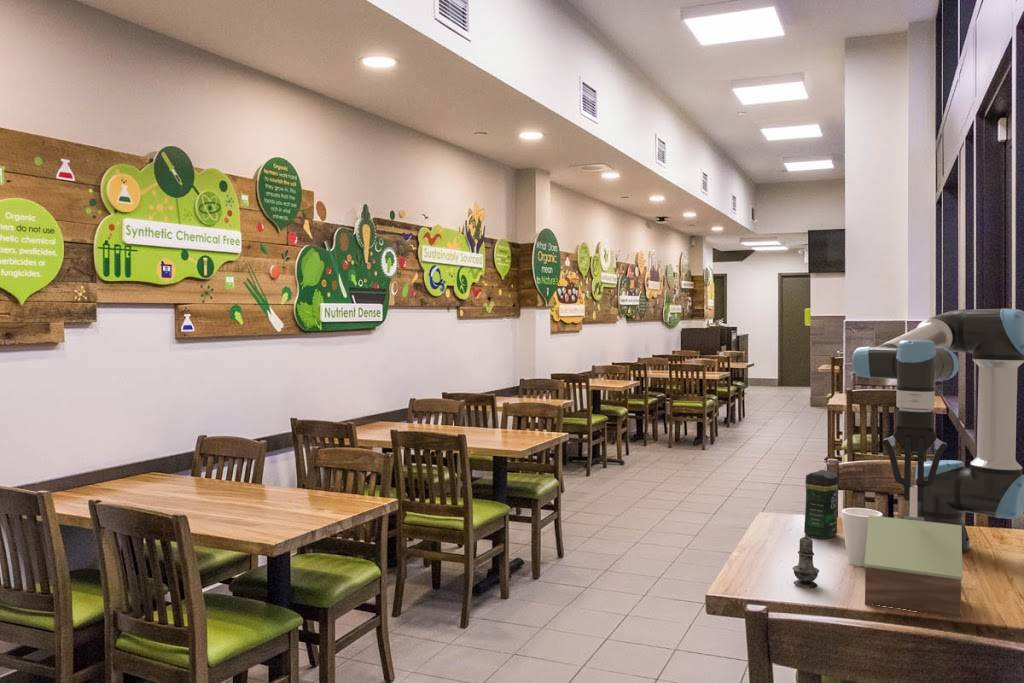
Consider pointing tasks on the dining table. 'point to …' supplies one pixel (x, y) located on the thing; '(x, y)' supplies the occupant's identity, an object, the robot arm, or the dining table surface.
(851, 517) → the foam cup
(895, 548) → the lid
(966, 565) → the dining table surface
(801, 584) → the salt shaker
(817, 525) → the coffee jar
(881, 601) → the box
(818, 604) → the dining table surface
